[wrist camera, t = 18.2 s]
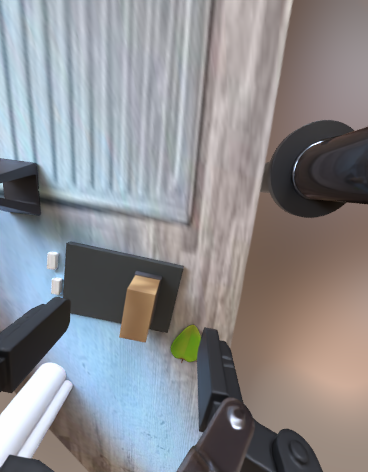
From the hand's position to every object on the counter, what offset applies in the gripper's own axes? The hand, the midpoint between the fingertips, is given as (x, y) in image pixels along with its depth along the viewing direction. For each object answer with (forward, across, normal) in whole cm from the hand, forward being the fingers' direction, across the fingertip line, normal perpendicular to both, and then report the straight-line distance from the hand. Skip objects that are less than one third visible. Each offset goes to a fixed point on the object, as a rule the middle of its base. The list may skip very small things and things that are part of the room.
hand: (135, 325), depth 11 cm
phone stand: (+24, +28, -2) cm, 37 cm away
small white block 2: (+22, +21, +16) cm, 35 cm away
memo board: (+24, +8, +14) cm, 29 cm away
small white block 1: (+22, +22, +10) cm, 33 cm away
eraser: (+23, +3, +14) cm, 27 cm away
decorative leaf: (+24, -7, +24) cm, 35 cm away
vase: (+24, +21, +42) cm, 52 cm away
